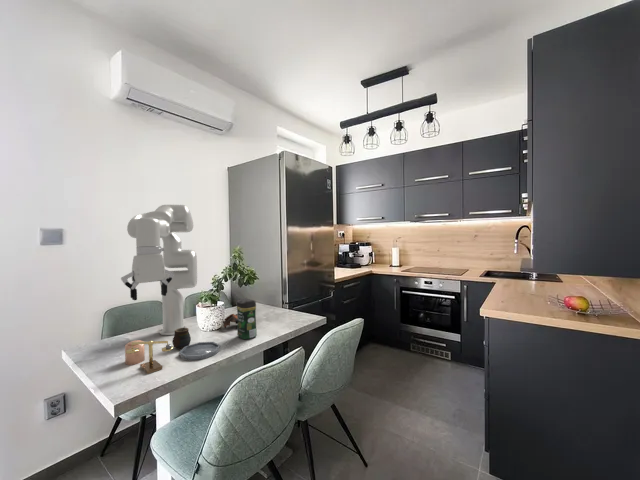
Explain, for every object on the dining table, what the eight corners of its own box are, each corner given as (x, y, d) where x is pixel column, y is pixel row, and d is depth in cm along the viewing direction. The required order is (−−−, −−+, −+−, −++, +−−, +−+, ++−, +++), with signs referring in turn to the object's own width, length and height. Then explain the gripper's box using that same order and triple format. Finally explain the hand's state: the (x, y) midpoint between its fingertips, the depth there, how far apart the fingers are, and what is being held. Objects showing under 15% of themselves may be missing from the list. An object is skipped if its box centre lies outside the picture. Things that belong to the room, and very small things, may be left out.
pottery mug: (241, 331, 145) (232, 318, 144) (226, 338, 147) (217, 326, 145) (248, 318, 157) (240, 307, 155) (234, 325, 159) (226, 314, 157)
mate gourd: (186, 342, 129) (186, 321, 129) (194, 347, 124) (194, 324, 124) (169, 347, 123) (169, 325, 123) (177, 352, 118) (177, 328, 118)
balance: (123, 372, 100) (122, 341, 100) (169, 358, 112) (168, 330, 112) (129, 380, 95) (128, 346, 95) (177, 364, 107) (176, 334, 107)
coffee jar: (234, 336, 136) (234, 298, 136) (249, 332, 142) (248, 295, 142) (244, 341, 129) (243, 301, 129) (259, 337, 135) (258, 298, 134)
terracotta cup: (123, 361, 110) (122, 342, 110) (141, 356, 115) (141, 338, 114) (127, 366, 105) (127, 346, 105) (147, 360, 110) (146, 341, 110)
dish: (174, 353, 117) (174, 349, 117) (208, 343, 128) (208, 339, 128) (189, 363, 107) (189, 359, 107) (225, 351, 118) (225, 347, 118)
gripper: (169, 250, 112) (170, 292, 112) (117, 252, 99) (118, 300, 99) (177, 250, 107) (178, 294, 107) (123, 252, 94) (124, 303, 94)
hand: (149, 297), depth 103 cm, fingers open, 9 cm apart
